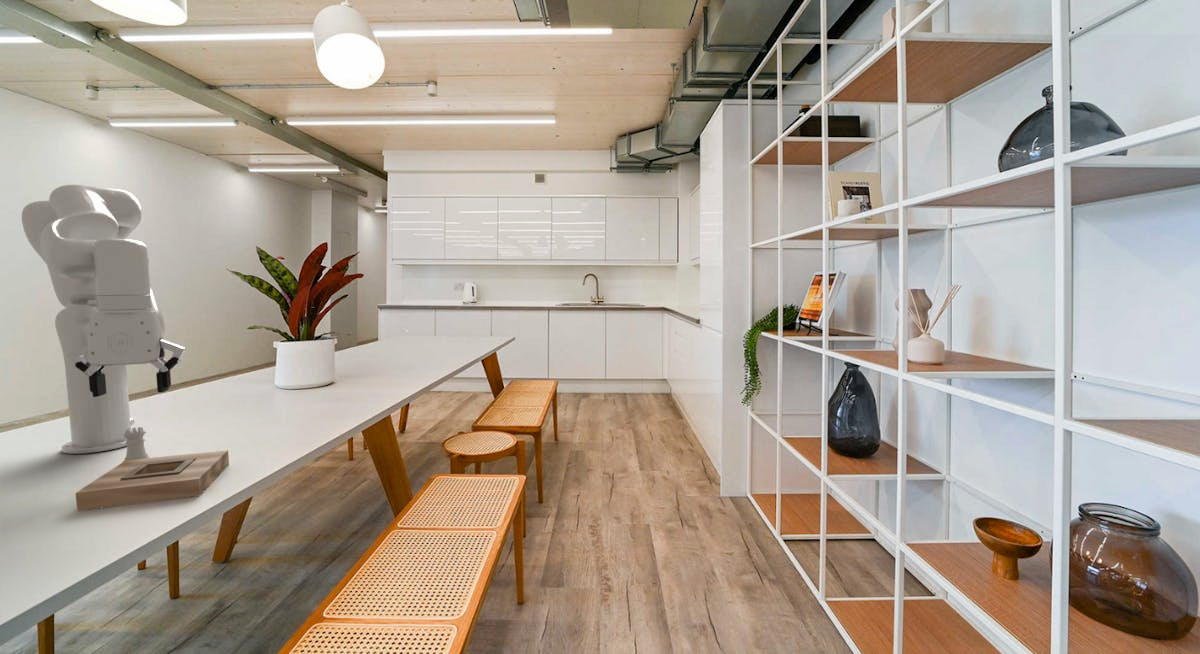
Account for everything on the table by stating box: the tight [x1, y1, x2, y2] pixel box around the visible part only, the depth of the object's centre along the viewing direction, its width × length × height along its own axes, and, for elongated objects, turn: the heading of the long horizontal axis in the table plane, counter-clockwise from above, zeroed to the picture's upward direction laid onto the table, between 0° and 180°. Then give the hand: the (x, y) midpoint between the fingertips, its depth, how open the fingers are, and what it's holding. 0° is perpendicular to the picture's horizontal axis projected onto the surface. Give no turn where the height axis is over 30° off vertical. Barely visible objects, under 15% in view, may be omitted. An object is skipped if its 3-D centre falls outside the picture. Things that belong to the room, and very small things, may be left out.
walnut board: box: [75, 449, 230, 512], centre depth 90 cm, size 16×16×3 cm
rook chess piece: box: [121, 426, 151, 463], centre depth 98 cm, size 4×4×8 cm
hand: (132, 393), depth 97 cm, fingers open, 9 cm apart
